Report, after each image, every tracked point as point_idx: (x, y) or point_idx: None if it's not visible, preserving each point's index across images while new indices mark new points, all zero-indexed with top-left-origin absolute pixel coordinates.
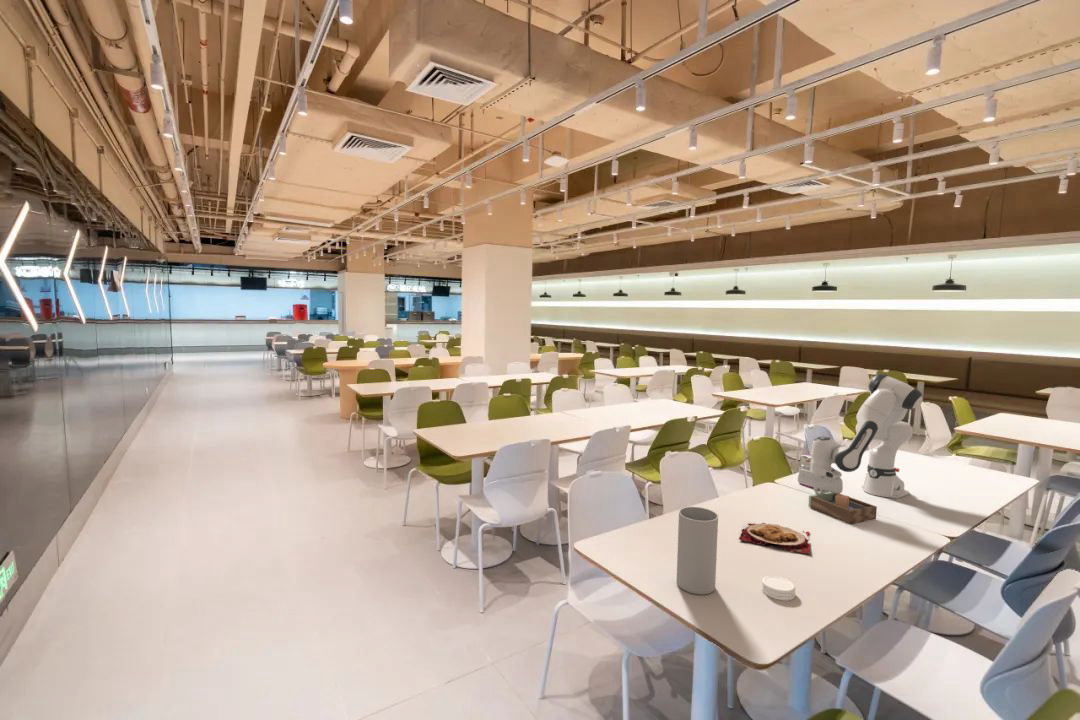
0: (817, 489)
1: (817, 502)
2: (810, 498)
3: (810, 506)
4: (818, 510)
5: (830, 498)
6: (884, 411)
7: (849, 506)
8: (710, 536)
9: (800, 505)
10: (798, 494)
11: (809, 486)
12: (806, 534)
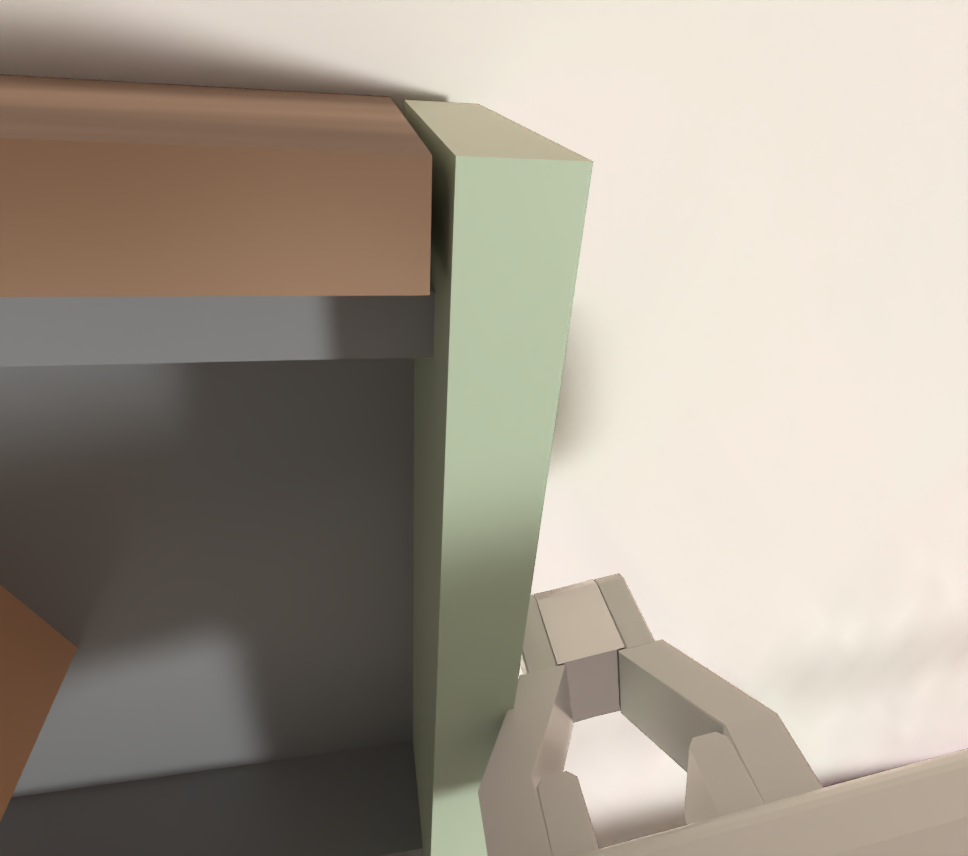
0: None
1: (67, 112)
2: (468, 135)
3: (411, 102)
4: (105, 85)
5: (415, 750)
6: None
7: (16, 799)
8: None
9: (676, 27)
10: (940, 532)
11: None
12: None
